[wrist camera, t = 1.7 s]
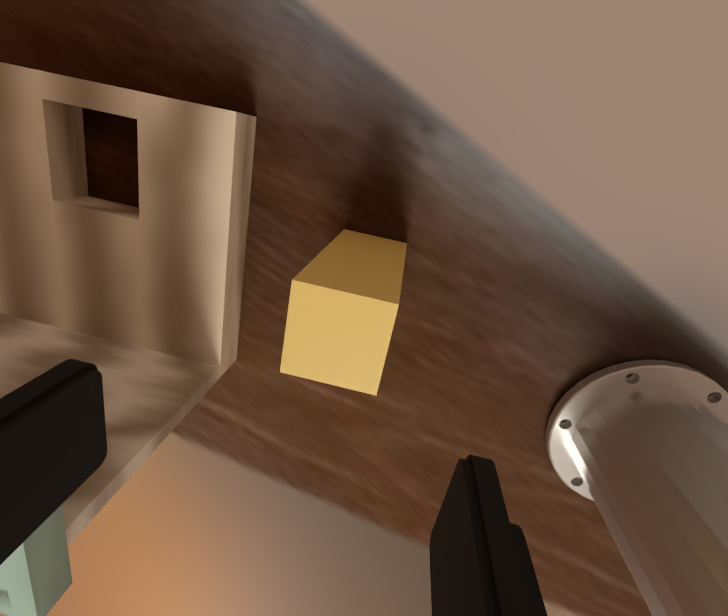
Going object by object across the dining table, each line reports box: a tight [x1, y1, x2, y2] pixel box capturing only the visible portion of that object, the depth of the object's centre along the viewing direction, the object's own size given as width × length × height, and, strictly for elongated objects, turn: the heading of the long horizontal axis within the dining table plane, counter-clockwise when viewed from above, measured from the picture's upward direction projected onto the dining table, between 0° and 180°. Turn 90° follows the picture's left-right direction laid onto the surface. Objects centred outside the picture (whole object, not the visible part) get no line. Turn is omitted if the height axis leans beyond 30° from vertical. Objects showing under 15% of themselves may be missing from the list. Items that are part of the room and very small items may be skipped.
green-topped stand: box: [0, 62, 257, 616], centre depth 20 cm, size 20×18×19 cm
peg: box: [280, 229, 407, 395], centre depth 22 cm, size 4×4×12 cm
